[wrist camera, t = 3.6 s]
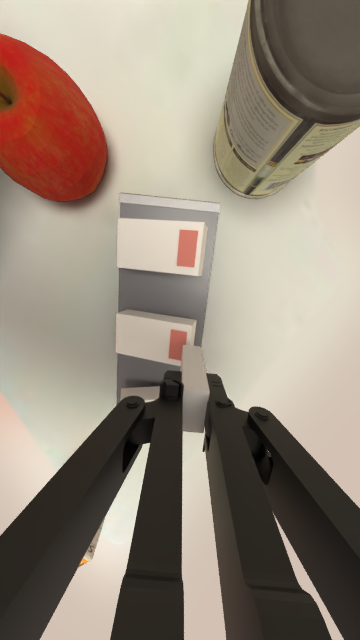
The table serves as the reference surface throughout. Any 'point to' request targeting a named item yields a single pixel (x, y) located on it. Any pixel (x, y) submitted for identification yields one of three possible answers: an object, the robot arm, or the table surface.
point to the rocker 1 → (161, 245)
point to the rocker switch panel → (163, 283)
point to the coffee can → (288, 92)
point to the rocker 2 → (153, 335)
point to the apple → (47, 126)
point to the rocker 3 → (141, 393)
